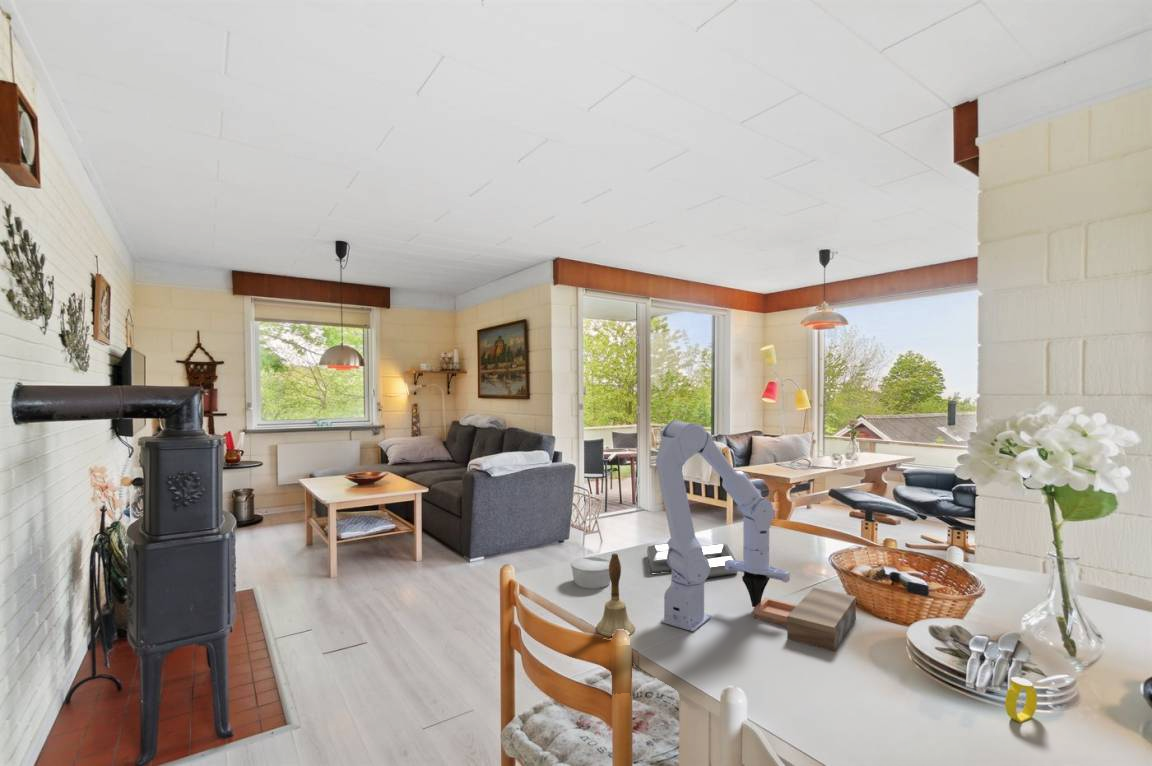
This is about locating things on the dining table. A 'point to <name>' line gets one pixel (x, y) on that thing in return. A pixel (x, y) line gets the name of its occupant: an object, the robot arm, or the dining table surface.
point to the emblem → (711, 552)
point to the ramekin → (591, 572)
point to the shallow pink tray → (773, 610)
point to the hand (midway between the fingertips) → (756, 606)
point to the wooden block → (821, 618)
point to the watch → (1013, 696)
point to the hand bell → (614, 605)
